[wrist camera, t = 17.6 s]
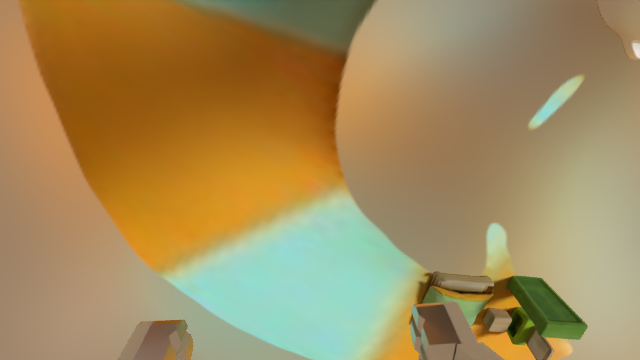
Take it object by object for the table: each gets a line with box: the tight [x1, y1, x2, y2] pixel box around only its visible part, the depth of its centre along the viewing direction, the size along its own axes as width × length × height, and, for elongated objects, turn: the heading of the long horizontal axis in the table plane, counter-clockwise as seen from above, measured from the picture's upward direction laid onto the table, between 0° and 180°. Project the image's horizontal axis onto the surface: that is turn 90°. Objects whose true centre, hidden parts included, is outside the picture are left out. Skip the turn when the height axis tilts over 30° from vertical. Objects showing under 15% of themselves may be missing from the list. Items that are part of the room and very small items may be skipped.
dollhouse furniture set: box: [422, 271, 588, 360], centre depth 51 cm, size 19×13×10 cm, turn 82°
